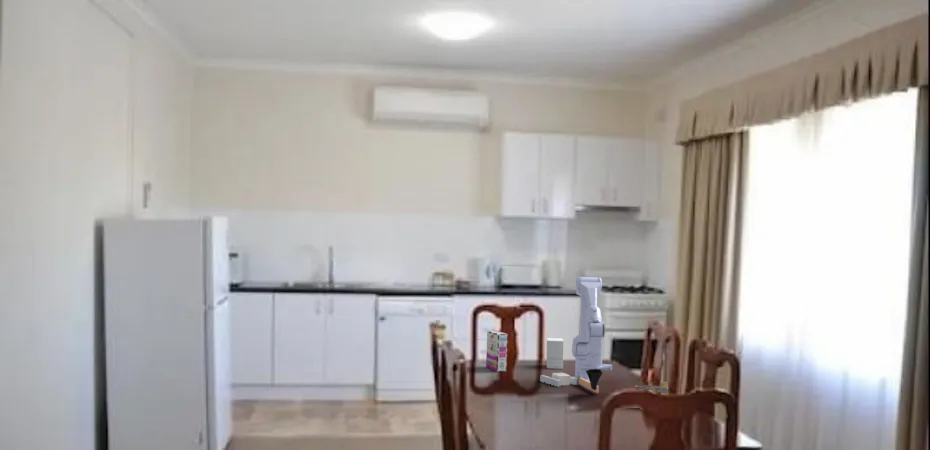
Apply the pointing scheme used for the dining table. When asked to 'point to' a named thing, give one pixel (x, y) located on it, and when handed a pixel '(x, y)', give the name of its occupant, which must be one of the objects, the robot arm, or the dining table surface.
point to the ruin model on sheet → (655, 388)
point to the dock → (556, 380)
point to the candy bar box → (497, 351)
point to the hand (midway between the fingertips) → (593, 389)
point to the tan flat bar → (586, 384)
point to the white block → (562, 378)
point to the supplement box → (554, 353)
